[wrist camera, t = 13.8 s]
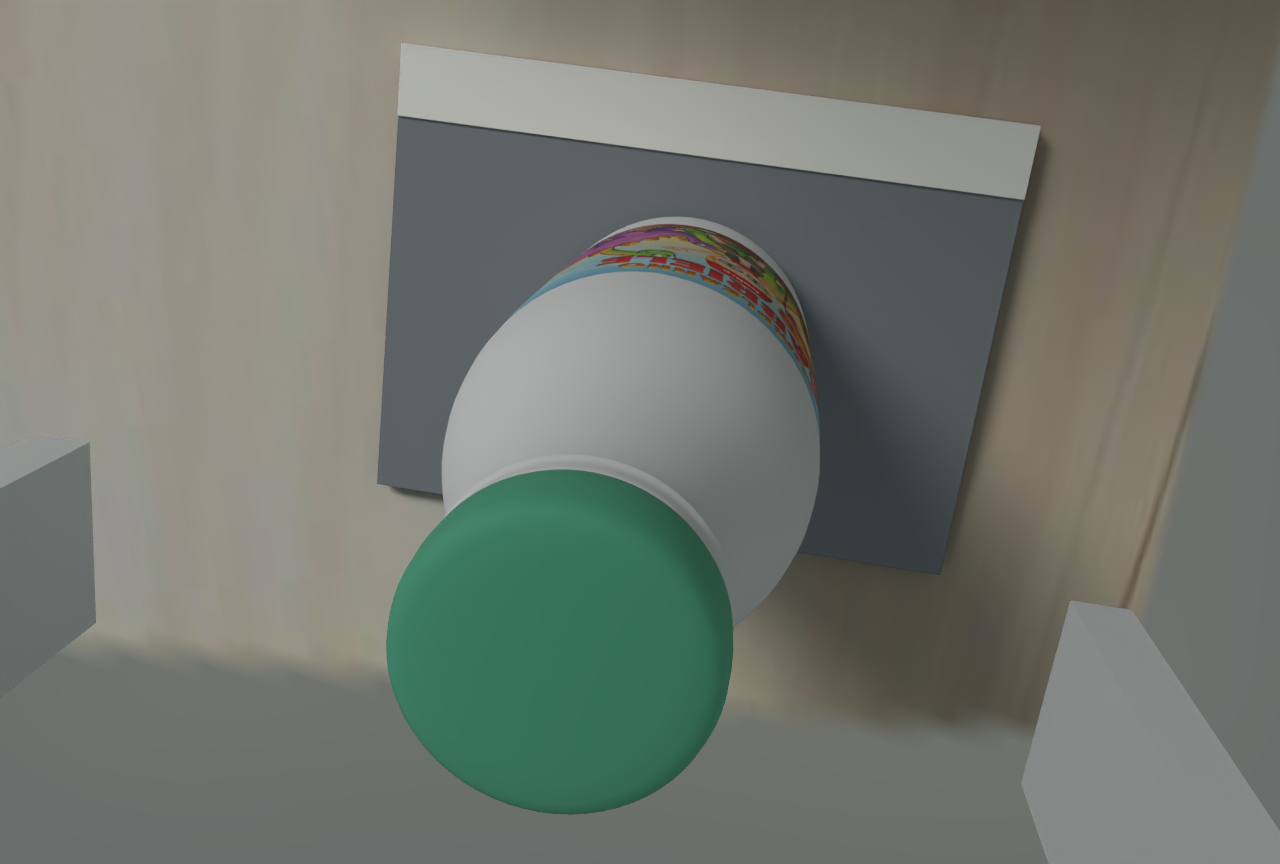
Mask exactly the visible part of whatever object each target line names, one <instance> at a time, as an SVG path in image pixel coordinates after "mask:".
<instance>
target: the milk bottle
mask: <svg viewBox="0 0 1280 864" xmlns="http://www.w3.org/2000/svg"><path fill="white" fill-rule="evenodd" d="M819 472H820V424H819V414H818V405H817V396H816V386H815V377H814V370H813V363H812V356H811V349H810V343H809V337H808V331H807V326H806V321H805V318H804V315H803V312H802V308H801V305H800V302H799V300H798V298H797V295H796V293H795V291H794V289H793V287H792V285H791V283H790V281H789V280H788V278H787V277H786V275H785V274H784V272H783V271H782V269H781V268H780V267H779V266H778V264H777V263H776V262H775V261H774V260H773V259H772V257H770V256H769V255H768V254H767V253H766V252H765V251H764V250H763V249H762V248H761V247H759V246H758V245H757V244H756V243H754V242H753V241H752V240H750V239H749V238H747V237H745V236H744V235H742V234H741V233H739V232H737V231H735V230H733V229H731V228H728V227H726V226H723V225H721V224H718V223H715V222H711V221H708V220H704V219H698V218H692V217H661V218H653V219H648V220H644V221H640V222H637V223H634V224H631V225H628V226H626V227H624V228H621V229H619V230H617V231H615V232H613V233H611V234H610V235H608V236H606V237H605V238H603V239H601V240H599V241H598V242H597V243H595V244H594V245H592V246H591V247H590V248H588V249H587V250H586V251H585V252H583V253H582V254H581V255H580V256H578V257H577V258H576V259H575V260H573V261H572V262H571V263H570V264H569V265H567V266H566V267H565V268H564V269H562V270H561V271H560V272H559V273H558V274H556V275H555V276H554V277H553V278H552V279H551V280H549V281H548V282H547V283H546V284H545V285H544V286H543V287H542V288H540V289H539V290H538V291H537V292H536V293H535V294H534V295H533V296H531V297H530V298H529V299H528V300H527V301H526V302H525V303H524V304H522V305H521V306H520V307H519V308H518V309H517V310H516V311H515V312H514V313H513V314H512V315H511V316H510V318H509V319H508V320H507V321H506V322H505V323H504V324H503V325H502V326H501V327H500V329H499V330H498V331H497V332H496V333H495V334H494V335H493V336H492V337H491V339H490V340H489V341H488V342H487V343H486V345H485V346H484V347H483V349H482V350H481V352H480V353H479V354H478V356H477V357H476V359H475V361H474V362H473V364H472V366H471V368H470V369H469V371H468V373H467V375H466V377H465V379H464V381H463V383H462V385H461V387H460V390H459V392H458V394H457V396H456V399H455V401H454V404H453V407H452V410H451V413H450V416H449V421H448V426H447V430H446V435H445V440H444V445H443V455H442V490H443V501H444V508H445V513H446V515H445V517H444V518H443V520H442V521H441V522H440V523H439V524H438V526H437V527H436V528H435V529H434V530H433V531H432V532H431V533H430V534H429V536H428V537H427V538H426V539H425V541H424V542H423V543H422V545H421V546H420V548H419V549H418V551H417V552H416V554H415V556H414V557H413V559H412V560H411V562H410V564H409V565H408V567H407V569H406V570H405V572H404V574H403V576H402V578H401V580H400V582H399V585H398V587H397V589H396V592H395V595H394V598H393V602H392V606H391V611H390V616H389V622H388V630H387V641H386V646H387V664H388V672H389V676H390V681H391V685H392V688H393V691H394V694H395V697H396V700H397V703H398V705H399V707H400V709H401V712H402V714H403V716H404V718H405V719H406V721H407V723H408V725H409V726H410V728H411V729H412V731H413V732H414V734H415V735H416V737H417V738H418V740H419V741H420V742H421V743H422V745H423V746H424V747H425V748H426V749H427V751H428V752H429V753H430V754H431V755H432V756H433V757H434V758H435V759H436V760H437V761H438V762H439V763H440V764H441V765H442V766H444V767H445V768H446V769H447V770H448V771H449V772H451V773H452V774H453V775H454V776H456V777H457V778H459V779H460V780H461V781H463V782H464V783H466V784H467V785H469V786H471V787H473V788H474V789H476V790H478V791H480V792H481V793H484V794H486V795H488V796H490V797H492V798H494V799H496V800H499V801H502V802H504V803H507V804H510V805H513V806H516V807H520V808H523V809H528V810H533V811H538V812H545V813H553V814H587V813H594V812H601V811H606V810H610V809H615V808H618V807H621V806H624V805H627V804H630V803H633V802H635V801H638V800H640V799H642V798H644V797H647V796H648V795H650V794H652V793H653V792H655V791H657V790H659V789H660V788H662V787H663V786H665V785H666V784H668V783H669V782H670V781H672V780H673V779H674V778H675V777H676V776H678V775H679V774H680V773H681V772H682V771H683V770H684V769H685V768H686V767H687V766H688V765H689V764H690V763H691V762H692V760H693V759H694V758H695V757H696V755H697V754H698V752H699V751H700V749H701V748H702V747H703V746H704V744H705V743H706V741H707V740H708V738H709V736H710V735H711V733H712V731H713V729H714V728H715V726H716V724H717V721H718V719H719V717H720V715H721V712H722V709H723V706H724V703H725V700H726V695H727V690H728V685H729V680H730V674H731V668H732V659H733V630H734V626H735V625H737V624H738V623H739V622H741V621H742V620H743V619H744V618H745V617H747V616H748V615H749V614H750V613H751V612H752V611H753V610H754V609H755V608H756V607H757V606H758V605H759V604H760V603H761V602H762V601H763V600H764V599H765V598H766V597H767V596H768V595H769V594H770V593H771V591H772V590H773V589H774V588H775V586H776V585H777V584H778V582H779V581H780V580H781V578H782V577H783V575H784V574H785V572H786V570H787V569H788V567H789V565H790V564H791V562H792V560H793V558H794V557H795V555H796V553H797V552H798V549H799V547H800V545H801V543H802V541H803V538H804V536H805V533H806V530H807V527H808V524H809V521H810V518H811V514H812V511H813V507H814V503H815V498H816V494H817V489H818V482H819Z"/></svg>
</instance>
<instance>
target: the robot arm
mask: <svg viewBox="0 0 1280 864" xmlns="http://www.w3.org/2000/svg"><path fill="white" fill-rule="evenodd" d="M95 623H96V610H95V582H94V554H93V526H92V497H91V469H90V442H86V441H80V440H73V439H67V438H61V437H55V436H49V435H42V434H34V435H32V436H30V437H28V438H26V439H24V440H22V441H19V442H17V443H15V444H13V445H11V446H9V447H7V448H5V449H2V450H0V698H1V697H2V696H3V695H5V694H6V693H7V692H8V691H10V690H11V689H12V688H14V687H15V686H16V685H17V684H19V683H20V682H21V681H22V680H24V679H25V678H26V677H28V676H29V675H30V674H31V673H33V672H34V671H35V670H36V669H38V668H39V667H40V666H41V665H43V664H44V663H45V662H46V661H48V660H49V659H50V658H52V657H53V656H54V655H55V654H57V653H58V652H59V651H60V650H62V649H63V648H64V647H66V646H67V645H68V644H69V643H71V642H72V641H73V640H74V639H76V638H77V637H78V636H80V635H81V634H82V633H83V632H85V631H86V630H87V629H88V628H90V627H91V626H92V625H93V624H95ZM1021 786H1022V789H1023V792H1024V794H1025V797H1026V800H1027V803H1028V806H1029V809H1030V812H1031V815H1032V817H1033V820H1034V823H1035V827H1036V829H1037V832H1038V835H1039V838H1040V841H1041V844H1042V847H1043V850H1044V853H1045V856H1046V858H1047V861H1048V864H1280V831H1279V829H1278V828H1277V826H1276V825H1275V823H1274V822H1273V820H1272V819H1271V817H1270V816H1269V814H1268V813H1267V811H1266V810H1265V808H1264V807H1263V805H1262V804H1261V802H1260V801H1259V799H1258V798H1257V796H1256V795H1255V793H1254V792H1253V790H1252V789H1251V787H1250V786H1249V784H1248V783H1247V781H1246V780H1245V778H1244V777H1243V775H1242V774H1241V773H1240V771H1239V769H1238V768H1237V766H1236V765H1235V763H1234V762H1233V761H1232V759H1231V757H1230V756H1229V754H1228V753H1227V751H1226V750H1225V749H1224V747H1223V746H1222V744H1221V743H1220V741H1219V740H1218V738H1217V737H1216V735H1215V734H1214V732H1213V731H1212V729H1211V728H1210V726H1209V725H1208V723H1207V722H1206V720H1205V719H1204V717H1203V716H1202V714H1201V713H1200V711H1199V710H1198V708H1197V707H1196V705H1195V704H1194V702H1193V701H1192V699H1191V698H1190V696H1189V695H1188V693H1187V692H1186V690H1185V689H1184V687H1183V686H1182V684H1181V683H1180V681H1179V680H1178V678H1177V677H1176V675H1175V674H1174V672H1173V671H1172V669H1171V668H1170V666H1169V665H1168V663H1167V662H1166V660H1165V659H1164V657H1163V656H1162V655H1161V653H1160V651H1159V650H1158V648H1157V647H1156V645H1155V644H1154V643H1153V641H1152V640H1151V638H1150V637H1149V635H1148V633H1147V632H1146V630H1145V629H1144V627H1143V626H1142V624H1141V623H1140V621H1139V620H1138V619H1137V617H1136V616H1135V614H1134V613H1133V611H1132V610H1128V609H1122V608H1115V607H1109V606H1103V605H1097V604H1091V603H1084V602H1078V601H1072V600H1070V603H1069V607H1068V611H1067V615H1066V618H1065V622H1064V626H1063V629H1062V633H1061V637H1060V640H1059V644H1058V648H1057V651H1056V655H1055V659H1054V663H1053V666H1052V670H1051V674H1050V677H1049V681H1048V685H1047V688H1046V692H1045V696H1044V699H1043V703H1042V707H1041V711H1040V714H1039V718H1038V722H1037V725H1036V729H1035V733H1034V736H1033V740H1032V744H1031V748H1030V751H1029V755H1028V759H1027V762H1026V766H1025V770H1024V774H1023V777H1022V781H1021Z"/></svg>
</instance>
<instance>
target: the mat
mask: <svg viewBox="0 0 1280 864" xmlns="http://www.w3.org/2000/svg"><path fill="white" fill-rule="evenodd" d="M397 115H398V132H397V149H396V167H395V184H394V201H393V219H392V236H391V253H390V271H389V288H388V305H387V323H386V340H385V357H384V375H383V392H382V409H381V427H380V444H379V461H378V479H377V484H381V485H387V486H393V487H399V488H406V489H412V490H418V491H424V492H430V493H437V494H443V490H442V455H443V445H444V440H445V435H446V430H447V426H448V421H449V416H450V413H451V410H452V407H453V404H454V401H455V399H456V396H457V394H458V392H459V390H460V387H461V385H462V383H463V381H464V379H465V377H466V375H467V373H468V371H469V369H470V368H471V366H472V364H473V362H474V361H475V359H476V357H477V356H478V354H479V353H480V352H481V350H482V349H483V347H484V346H485V345H486V343H487V342H488V341H489V340H490V339H491V337H492V336H493V335H494V334H495V333H496V332H497V331H498V330H499V329H500V327H501V326H502V325H503V324H504V323H505V322H506V321H507V320H508V319H509V318H510V316H511V315H512V314H513V313H514V312H515V311H516V310H517V309H518V308H519V307H520V306H521V305H522V304H524V303H525V302H526V301H527V300H528V299H529V298H530V297H531V296H533V295H534V294H535V293H536V292H537V291H538V290H539V289H540V288H542V287H543V286H544V285H545V284H546V283H547V282H548V281H549V280H551V279H552V278H553V277H554V276H555V275H556V274H558V273H559V272H560V271H561V270H562V269H564V268H565V267H566V266H567V265H569V264H570V263H571V262H572V261H573V260H575V259H576V258H577V257H578V256H580V255H581V254H582V253H583V252H585V251H586V250H587V249H588V248H590V247H591V246H592V245H594V244H595V243H597V242H598V241H599V240H601V239H603V238H605V237H606V236H608V235H610V234H611V233H613V232H615V231H617V230H619V229H621V228H624V227H626V226H628V225H631V224H634V223H637V222H640V221H644V220H648V219H653V218H661V217H692V218H698V219H704V220H708V221H711V222H715V223H718V224H721V225H723V226H726V227H728V228H731V229H733V230H735V231H737V232H739V233H741V234H742V235H744V236H745V237H747V238H749V239H750V240H752V241H753V242H754V243H756V244H757V245H758V246H759V247H761V248H762V249H763V250H764V251H765V252H766V253H767V254H768V255H769V256H770V257H772V259H773V260H774V261H775V262H776V263H777V264H778V266H779V267H780V268H781V269H782V271H783V272H784V274H785V275H786V277H787V278H788V280H789V281H790V283H791V285H792V287H793V289H794V291H795V293H796V295H797V298H798V300H799V302H800V305H801V308H802V312H803V315H804V318H805V321H806V326H807V331H808V337H809V343H810V349H811V356H812V363H813V370H814V377H815V386H816V396H817V405H818V414H819V424H820V472H819V482H818V489H817V494H816V498H815V503H814V507H813V511H812V514H811V518H810V521H809V524H808V527H807V530H806V533H805V536H804V538H803V541H802V543H801V545H800V547H799V549H798V552H801V553H807V554H813V555H820V556H826V557H832V558H838V559H844V560H851V561H857V562H863V563H869V564H875V565H881V566H888V567H894V568H900V569H906V570H912V571H919V572H925V573H931V574H937V575H940V573H941V568H942V564H943V559H944V555H945V550H946V546H947V541H948V537H949V532H950V528H951V523H952V519H953V514H954V510H955V505H956V501H957V496H958V492H959V487H960V483H961V479H962V474H963V470H964V465H965V461H966V456H967V452H968V447H969V443H970V438H971V434H972V429H973V425H974V420H975V416H976V411H977V407H978V402H979V398H980V393H981V389H982V384H983V380H984V376H985V371H986V367H987V362H988V358H989V353H990V349H991V344H992V340H993V335H994V331H995V326H996V322H997V317H998V313H999V308H1000V304H1001V299H1002V295H1003V290H1004V286H1005V281H1006V277H1007V273H1008V268H1009V264H1010V259H1011V255H1012V250H1013V246H1014V241H1015V237H1016V232H1017V228H1018V223H1019V219H1020V214H1021V210H1022V205H1023V201H1024V200H1025V196H1026V191H1027V187H1028V182H1029V178H1030V173H1031V169H1032V164H1033V160H1034V155H1035V151H1036V146H1037V142H1038V137H1039V133H1040V129H1041V126H1039V125H1032V124H1024V123H1016V122H1008V121H1001V120H993V119H985V118H978V117H970V116H962V115H954V114H947V113H939V112H931V111H923V110H916V109H908V108H900V107H893V106H885V105H877V104H869V103H862V102H854V101H846V100H838V99H831V98H823V97H815V96H808V95H800V94H792V93H784V92H777V91H769V90H761V89H753V88H746V87H738V86H730V85H723V84H715V83H707V82H699V81H692V80H684V79H676V78H668V77H661V76H653V75H645V74H638V73H630V72H622V71H614V70H607V69H599V68H591V67H583V66H576V65H568V64H560V63H553V62H545V61H537V60H529V59H522V58H514V57H506V56H498V55H491V54H483V53H475V52H468V51H460V50H452V49H444V48H437V47H429V46H421V45H413V44H406V43H401V60H400V78H399V95H398V112H397Z"/></svg>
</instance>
